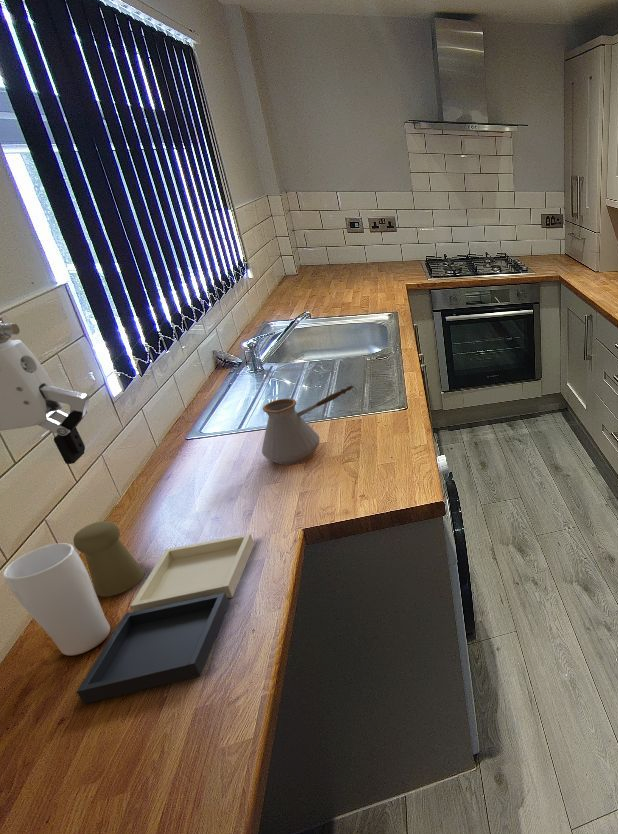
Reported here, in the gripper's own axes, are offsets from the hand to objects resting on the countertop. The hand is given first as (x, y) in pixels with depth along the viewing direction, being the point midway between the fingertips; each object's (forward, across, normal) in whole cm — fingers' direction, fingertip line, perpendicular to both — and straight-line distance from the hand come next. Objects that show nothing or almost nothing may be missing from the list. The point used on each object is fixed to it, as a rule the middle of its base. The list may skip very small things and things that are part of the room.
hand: (28, 466), depth 66 cm
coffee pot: (+27, -23, -42) cm, 55 cm away
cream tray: (+27, -10, -5) cm, 29 cm away
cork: (+27, +2, -9) cm, 29 cm away
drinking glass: (+27, +2, +3) cm, 27 cm away
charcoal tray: (+27, -9, +9) cm, 30 cm away
